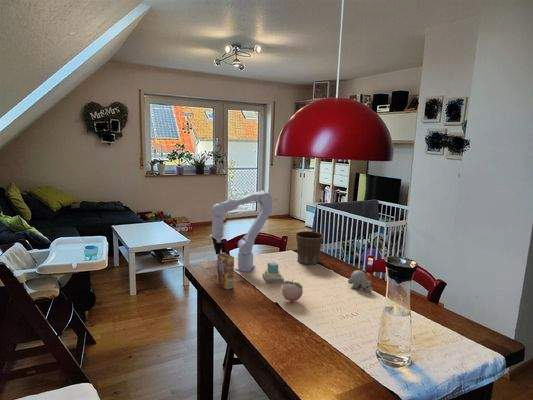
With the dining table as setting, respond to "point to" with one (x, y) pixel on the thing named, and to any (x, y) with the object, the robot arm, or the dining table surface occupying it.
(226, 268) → the candy box
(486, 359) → the dining table surface
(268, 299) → the dining table surface
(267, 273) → the top slab
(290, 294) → the decorative fruit
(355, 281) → the chubby cartoon animal
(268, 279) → the base slab
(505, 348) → the dining table surface
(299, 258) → the plant pot
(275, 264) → the teal cube
